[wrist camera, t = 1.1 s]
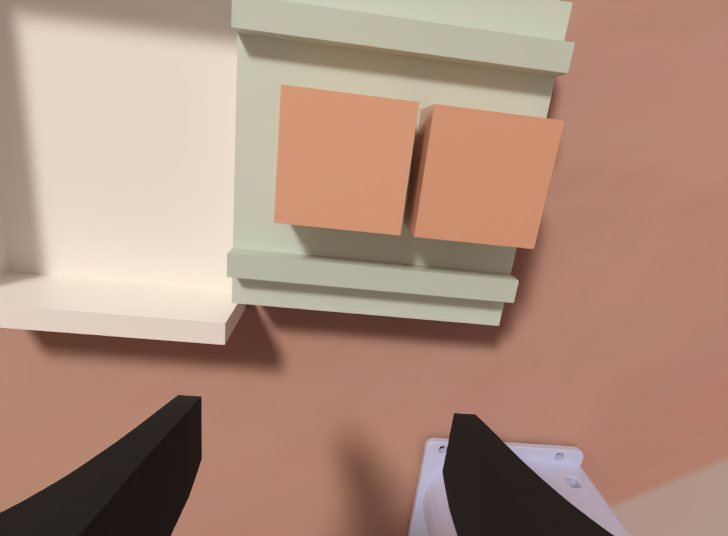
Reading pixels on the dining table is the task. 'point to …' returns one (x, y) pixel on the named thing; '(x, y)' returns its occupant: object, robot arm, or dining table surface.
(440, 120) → the tile
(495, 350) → the dining table surface
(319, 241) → the two-ridged green plate
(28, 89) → the box
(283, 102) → the tile
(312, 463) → the dining table surface
